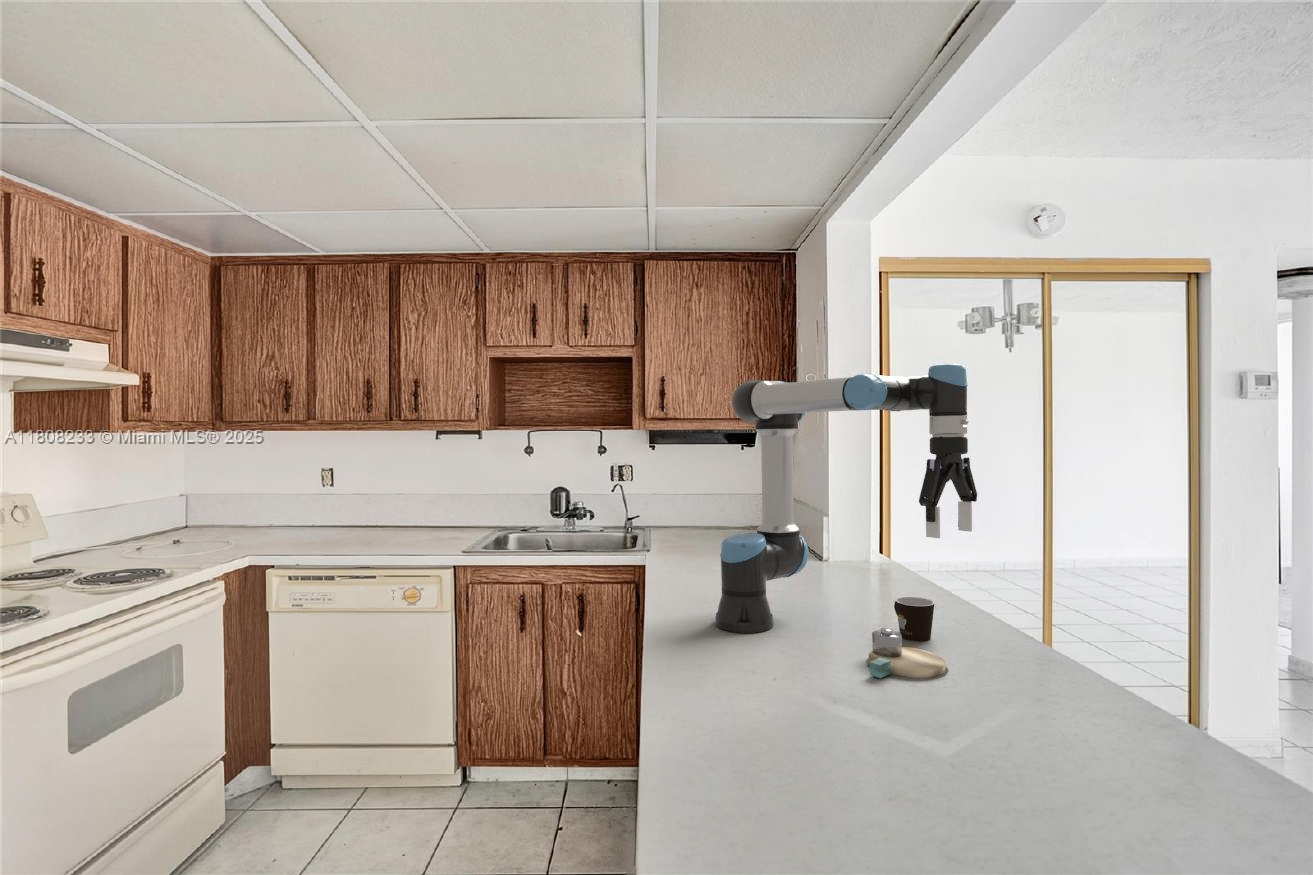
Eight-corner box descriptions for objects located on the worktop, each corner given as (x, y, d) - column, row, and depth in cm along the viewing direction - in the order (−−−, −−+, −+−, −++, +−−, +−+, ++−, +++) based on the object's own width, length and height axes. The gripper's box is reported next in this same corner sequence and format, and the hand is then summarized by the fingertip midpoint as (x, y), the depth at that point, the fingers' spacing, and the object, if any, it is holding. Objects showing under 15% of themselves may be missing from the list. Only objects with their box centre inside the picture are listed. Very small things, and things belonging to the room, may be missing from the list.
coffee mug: (938, 650, 149) (938, 606, 149) (899, 648, 151) (898, 605, 151) (928, 634, 161) (927, 594, 161) (891, 633, 163) (891, 593, 163)
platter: (894, 648, 146) (894, 635, 146) (959, 666, 135) (959, 652, 135) (843, 668, 135) (842, 653, 135) (909, 689, 123) (909, 673, 123)
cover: (866, 652, 140) (866, 629, 140) (882, 646, 144) (882, 623, 144) (891, 659, 135) (891, 635, 135) (907, 653, 139) (907, 629, 139)
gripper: (934, 436, 130) (935, 542, 130) (993, 435, 145) (994, 530, 146) (900, 436, 136) (901, 538, 136) (960, 435, 151) (961, 526, 151)
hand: (949, 534), depth 141 cm, fingers open, 13 cm apart
